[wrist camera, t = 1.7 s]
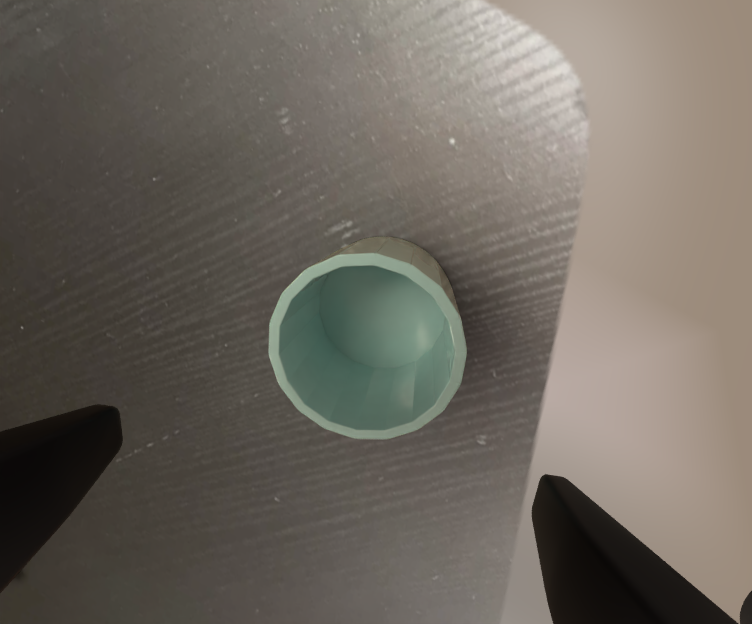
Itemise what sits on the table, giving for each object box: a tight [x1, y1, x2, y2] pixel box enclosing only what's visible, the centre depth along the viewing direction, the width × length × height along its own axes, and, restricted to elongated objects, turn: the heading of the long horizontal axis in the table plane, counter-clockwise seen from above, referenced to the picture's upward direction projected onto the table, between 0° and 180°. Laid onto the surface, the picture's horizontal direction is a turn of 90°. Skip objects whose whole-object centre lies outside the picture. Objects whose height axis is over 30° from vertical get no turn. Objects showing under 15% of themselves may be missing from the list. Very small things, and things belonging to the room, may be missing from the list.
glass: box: [269, 236, 467, 439], centre depth 16 cm, size 7×7×6 cm
